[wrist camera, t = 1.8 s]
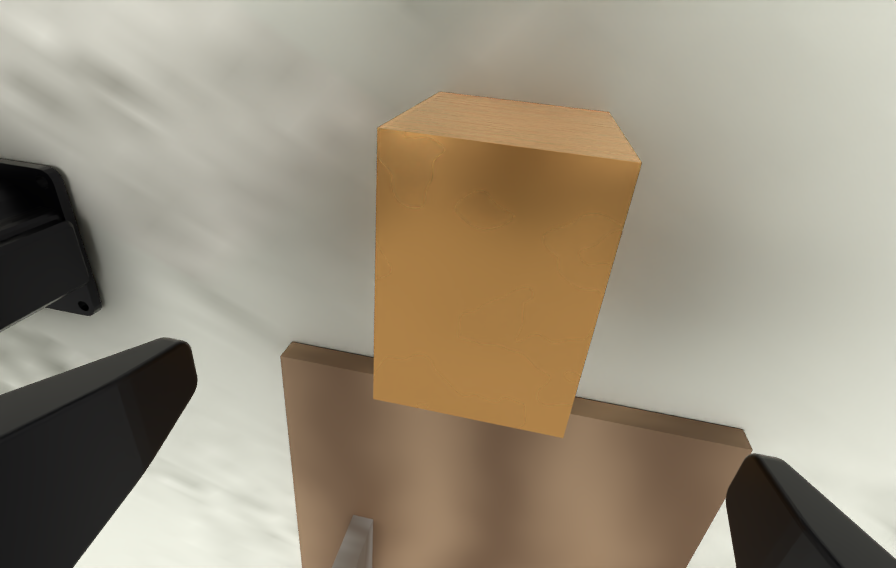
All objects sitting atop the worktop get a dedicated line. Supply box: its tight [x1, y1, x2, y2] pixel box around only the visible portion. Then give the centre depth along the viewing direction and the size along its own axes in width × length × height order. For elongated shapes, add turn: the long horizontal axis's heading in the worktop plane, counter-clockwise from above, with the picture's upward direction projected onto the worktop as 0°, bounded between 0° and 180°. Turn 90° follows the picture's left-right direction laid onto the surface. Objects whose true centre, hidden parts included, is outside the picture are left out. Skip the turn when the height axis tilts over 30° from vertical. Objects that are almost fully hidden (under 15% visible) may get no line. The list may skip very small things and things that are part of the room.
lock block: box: [373, 92, 642, 438], centre depth 13 cm, size 5×7×6 cm
